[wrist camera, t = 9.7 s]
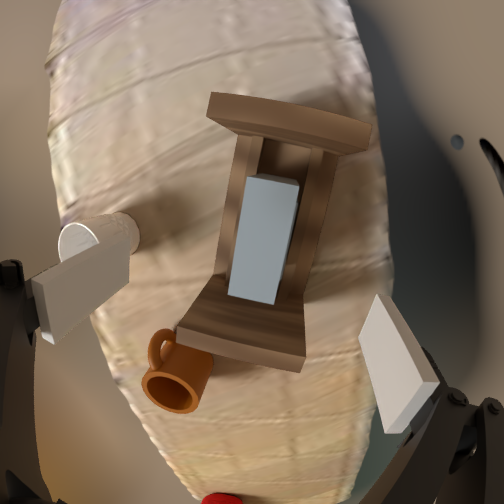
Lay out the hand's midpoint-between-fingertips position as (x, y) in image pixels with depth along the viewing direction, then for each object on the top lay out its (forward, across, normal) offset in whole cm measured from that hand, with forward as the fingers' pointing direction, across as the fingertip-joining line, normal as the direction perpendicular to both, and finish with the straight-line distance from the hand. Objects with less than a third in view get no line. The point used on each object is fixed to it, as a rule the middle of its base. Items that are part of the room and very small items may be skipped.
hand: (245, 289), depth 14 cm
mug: (+22, -9, -24) cm, 34 cm away
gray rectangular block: (+21, 0, 0) cm, 21 cm away
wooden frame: (+22, 0, 0) cm, 22 cm away
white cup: (+22, -21, -7) cm, 31 cm away
